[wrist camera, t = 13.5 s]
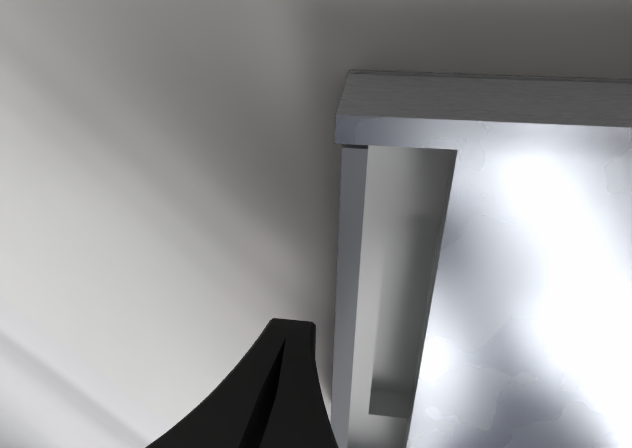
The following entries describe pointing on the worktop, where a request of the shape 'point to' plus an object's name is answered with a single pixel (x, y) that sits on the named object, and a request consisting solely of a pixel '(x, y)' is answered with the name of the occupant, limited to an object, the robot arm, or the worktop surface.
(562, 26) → the worktop surface
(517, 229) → the player housing
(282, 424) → the robot arm
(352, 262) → the tray
